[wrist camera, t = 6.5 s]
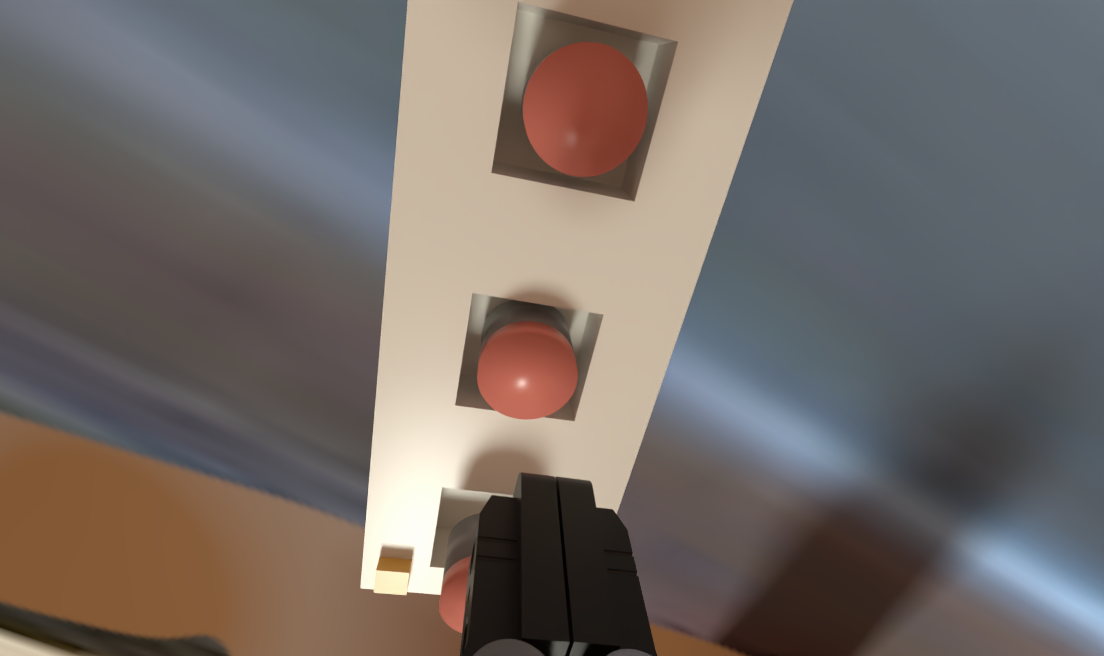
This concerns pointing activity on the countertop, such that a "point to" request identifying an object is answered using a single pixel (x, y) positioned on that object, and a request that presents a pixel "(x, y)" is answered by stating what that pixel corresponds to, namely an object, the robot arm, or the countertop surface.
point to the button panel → (541, 250)
